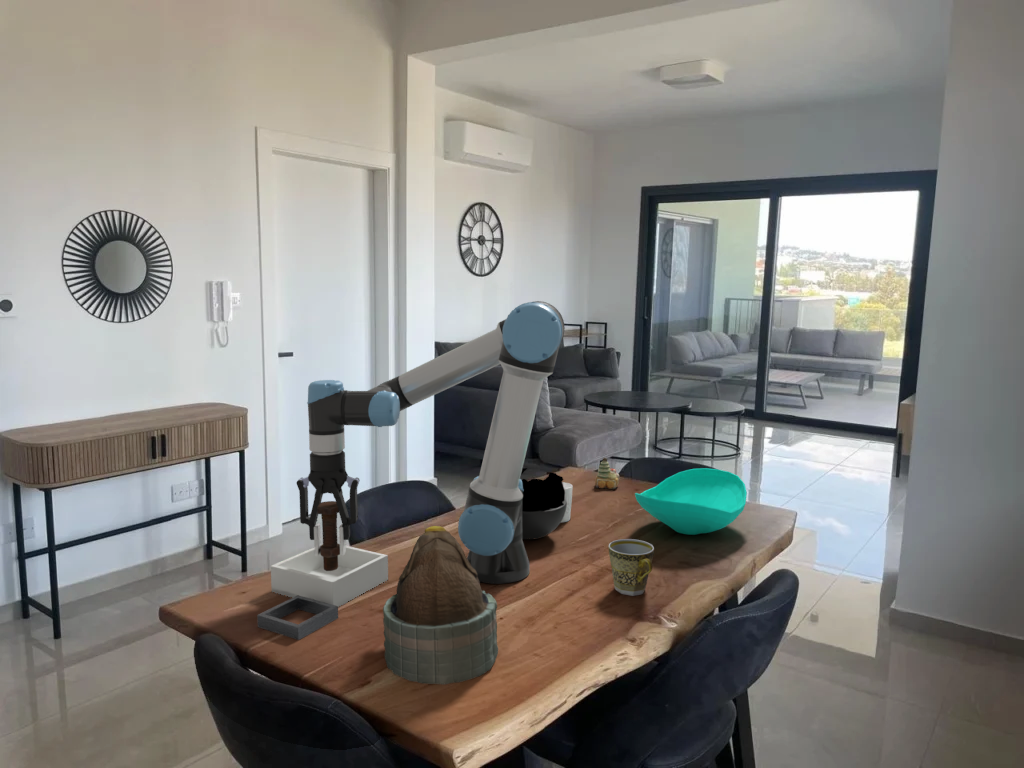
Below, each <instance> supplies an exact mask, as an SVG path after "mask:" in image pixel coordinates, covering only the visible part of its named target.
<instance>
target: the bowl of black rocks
mask: <svg viewBox="0 0 1024 768" xmlns="http://www.w3.org/2000/svg"><path fill="white" fill-rule="evenodd" d="M527 469H528V467H525V468H524V467H523V468H522V472H521V475H523V473H525V472H526V470H527ZM521 480H522V484H523V489H524V491H523V509H522V540H537V539H541V538H543V537H546V536H548V535H549V534H551V533H553V531H555V530H556V529H557V528H558V526H559V525H560V524H561V523H562V522H561V521H562V519H563V517H564V514H565V511H566V507H567V502H566V500H565V490H564V487H563V483H562V482H563V481H564V477H563V476H561V475H558V474H557V473H556V472H549V473H548V476H547V477H545V478H544V479H539V478H531V479H529V480H527V479H525V478H522V479H521ZM560 522H561V523H560Z"/></svg>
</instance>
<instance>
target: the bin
mask: <svg viewBox="0 0 1024 768" xmlns="http://www.w3.org/2000/svg"><path fill="white" fill-rule="evenodd" d="M321 545H323V543H321ZM323 561H324V559H323V557H322V556H321V554H319V555H318V556H315V549H314V547H312V548H310V549H307V550H305V551H302V552H300V553H298V554H296V555H293V556H290V557H289V558H286V559H284V560H282V561H278V562H276V563H274V564H272V565H270V582H271V587H270V588H271V592H272V593H273V592H275V593H274V594H277V593H278V595H280V594H281V596H284V595H286V596H285V597H287V596H288V597H287V598H291V597H292V598H293V597H295V596H297V595H299V596H303V597H306V598H310V599H314V600H317V601H321V602H324V603H328V604H331V605H335V606H338V608H340V607H341V605H342V606H344V605H345V604H347V603H348V601H349V602H351V601H352V599H353V600H355V599H356V598H358V597H360V596H362V595H364V594H366V593H367V592H366V591H368V590H369V591H371V590H373V589H375V588H377V587H379V586H380V585H379V584H381V583H382V584H384V583H386V582H388V581H389V555H388V554H383V553H380V552H375V551H370V550H367V549H363V548H358V547H353V546H349V545H346V552H345V554H344V555H343V556H340V555H338V568H337V569H336V570H333V571H326V570H324V563H323ZM387 580H388V581H387ZM385 581H386V582H385ZM383 582H384V583H383ZM382 584H381V585H382ZM378 585H379V586H378ZM376 586H377V587H376ZM374 587H375V588H374ZM372 588H373V589H372ZM370 589H371V590H370ZM369 591H368V592H369ZM365 592H366V593H365ZM363 593H364V594H363ZM361 594H362V595H361ZM359 595H360V596H359ZM357 596H358V597H357ZM355 597H356V598H355ZM354 598H355V599H354ZM350 600H351V601H350ZM339 606H340V607H339Z"/></svg>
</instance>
